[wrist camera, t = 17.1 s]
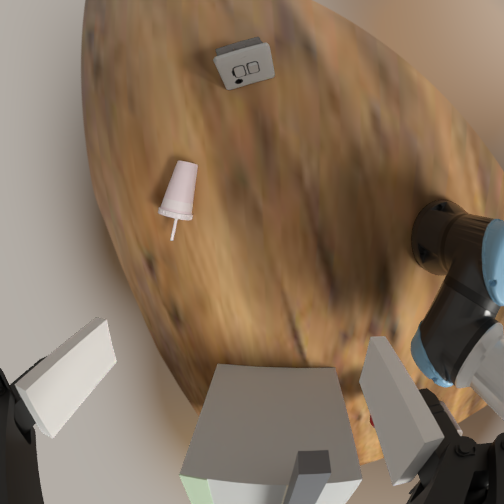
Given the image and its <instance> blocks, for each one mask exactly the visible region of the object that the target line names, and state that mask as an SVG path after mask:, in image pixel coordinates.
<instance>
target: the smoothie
mask: <svg viewBox="0 0 504 504" xmlns="http://www.w3.org/2000/svg"><path fill="white" fill-rule="evenodd" d="M197 169H198V165H197V164H193V163H190V162H185V161H178V162H177V164H176V167H175V169H174V172H173V174H172V177H171V180H170V182H169V185H168V188H167V190H166V193H165V196H164V198H163V201H162V204H161V207H159V210H158V213H159V214H161V215H164V216H167V217H171V218H175V220H174V224H173V229H172V234H171V239H170V240H171V241H173V239H174V234H175V230H176V225H177V221H178V219H180V220H192V217H193V214H192V208H193V199H194V191H195V184H196V176H197Z"/></svg>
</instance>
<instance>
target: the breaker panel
mask: <svg viewBox="0 0 504 504" xmlns="http://www.w3.org/2000/svg"><path fill="white" fill-rule="evenodd" d="M317 450H328V451H329V458H330V466H331V475H330V477H329V479H328V481H327V483H326V485H325V487H324V489H323V490H322V492H321V494H320V496H319V498H318V500H317V502H316V503H315V504H345V503H346V502H347V501H348V499H349V498H350V497H351V495H352V494H353V493H354V491H355V490H356V488H357V487H358V485H359V484H360V482H361V481H362V474H361V469H360V465H359V460H358V456H357V451H356V447H355V443H354V438H353V434H352V430H351V426H350V422H349V418H348V414H347V410H346V406H345V402H344V399H343V395H342V391H341V387H340V384H339V380H338V376H337V373H336V369H335V368H279V367H256V366H241V365H228V364H217V367H216V370H215V373H214V375H213V378H212V381H211V384H210V387H209V390H208V393H207V396H206V399H205V402H204V405H203V408H202V410H201V413H200V416H199V419H198V422H197V425H196V428H195V431H194V434H193V437H192V440H191V442H190V445H189V448H188V451H187V454H186V457H185V460H184V463H183V466H182V469H181V471H180V474H179V476H180V478H181V481H182V483H183V486H184V488H185V490H186V493H187V495H188V497H189V500H190V502H191V504H283V502H284V499H285V496H286V493H287V489H288V486H289V482H290V479H291V475H292V472H293V468H294V464H295V460H296V456H297V453H298V451H317Z"/></svg>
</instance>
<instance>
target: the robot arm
mask: <svg viewBox="0 0 504 504" xmlns="http://www.w3.org/2000/svg"><path fill="white" fill-rule="evenodd" d="M412 249H413V253H414V256H415V258H416V260H417V262H418V263H419V264H420V266H421V267H423V268H424V269H425V270H427V271H428V272H430V273H432V274H435V275H446V277H445V279H444V281H443V283H442V285H441V287H440V289H439V291H438V293H437V295H436V297H435V299H434V301H433V303H432V305H431V307H430V309H429V310H428V312H427V314H426V316H425V318H424V319H423V320H422V321H421V322H420V324H419V327H418V330H417V332H416V334H415V335H414V337H413V339H412V341H411V354H412V357H413V359H414V361H415V363H416V365H417V366H418V367H419V369H420V370H421V371H422V372H423V374H424V375H425V376H426V377H428V378H429V379H432V380H433V381H434V383H436V384H437V385H439V386H442V387H450V386H452V385H455V386H456V387H457V388H464V387H471V388H472V389H473V390H474V391H475V392H476V393H477V394H478V395H479V396H480V397H481V398H482V399H483V400H484V401H485V402H486V403H487V404H488V405H489V406H490V407H491V408H492V409H493V410H494V411H495V412H496V413H497V414H498V415H499V416H500V417H501V418H502V420H503V421H504V334H503V326H502V324H501V323H500V322H498V321H497V320H495V317H496V315H497V313H498V311H499V309H500V307H501V306H504V221H503V220H500V219H491V218H487V217H482V216H477V215H472V214H468V213H467V212H466V211H465V210H464V209H463V208H461V207H460V206H459V205H457V204H456V203H453V202H451V201H444V200H438V201H434V202H431V203H430V204H428V205H427V206H426V207H424V208H423V210H422V211H421V212H420V213H419V215H418V217H417V219H416V221H415V223H414V227H413V231H412ZM116 362H117V361H116V357H115V353H114V349H113V345H112V341H111V336H110V332H109V328H108V323H107V319H103V318H97V317H96V318H94V319H93V320H92V321H90V322H89V323H88V324H87V325H85V326H84V327H83V328H82V329H80V330H79V331H78V332H76V333H75V334H74V335H73V336H72V337H70V338H69V339H68V340H67V341H65V342H64V343H63V344H62V345H60V346H59V347H58V348H57V349H56V350H54V351H53V352H52V353H51V354H50V355H48V356H46V357H44V358H42V359H40V360H39V361H38V362H37V363H35V364H34V366H32V367H30V368H29V370H27V371H26V372H25V373H23V374H22V375H21V376H20V377H19V378H18V379H16V380H15V381H14V382H13V383H12V384H11V385H9V383H8V381H7V379H6V377H5V375H4V373H3V371H2V370H1V368H0V504H44V501H43V497H42V491H41V485H40V478H39V471H38V462H37V451H36V435H35V429H34V428H33V425H34V424H35V423H36V424H37V426H38V427H39V429H40V430H41V432H42V433H44V434H46V435H47V436H49V437H51V438H54V437H55V435H56V434H57V433H58V432H59V430H60V429H61V428H62V427H63V425H64V424H65V423H66V422H67V421H68V419H69V418H70V417H71V416H72V415H73V413H74V412H75V411H76V410H77V408H78V407H79V406H80V405H81V404H82V402H83V401H84V400H85V399H86V398H87V396H88V395H89V394H90V393H91V392H92V391H93V389H94V388H95V387H96V386H97V385H98V383H99V382H100V381H101V380H102V379H103V377H104V376H105V375H106V374H107V373H108V372H109V371H110V369H111V368H112V367H113V366H114V365H115V364H116ZM359 383H360V386H361V389H362V391H363V394H364V397H365V400H366V403H367V406H368V409H369V411H370V414H371V417H372V420H373V423H374V426H375V429H376V432H377V435H378V439H379V442H380V445H381V448H382V451H383V454H384V458H385V461H386V464H387V468H388V471H389V474H390V478H391V482H392V485H393V486H395V485H399V484H403V483H407V482H410V481H412V479H413V478H414V477H415V476H416V475H417V474H418V475H419V478H420V481H419V482H418V483H417V484H416V486H415V487H414V488H413V489H412V490H411V491H410V492H409V494H411V493H412V492H413V493H412V494H411V496H410V498H409V500H408V502H407V503H406V504H504V433H501V434H500V435H498V436H497V438H496V439H495V440H494V442H493V443H486V444H476V442H475V441H474V440H473V439H471V438H469V437H465V436H460V435H459V433H458V431H457V430H456V428H455V426H454V425H453V423H452V421H451V420H450V418H449V416H448V415H447V413H446V412H445V410H444V408H443V406H442V405H440V404H441V403H440V401H439V400H438V398H437V397H436V395H435V394H433V393H432V392H431V391H430V390H428V389H427V388H426V389H420V390H418V389H417V387H416V385H415V384H414V382H413V380H412V379H411V377H410V375H409V374H408V372H407V370H406V369H405V367H404V365H403V364H402V362H401V361H400V359H399V357H398V356H397V354H396V353H395V351H394V350H393V348H392V346H391V345H390V343H389V342H388V340H387V339H386V337H385V336H379V337H370V341H369V346H368V350H367V354H366V358H365V362H364V366H363V369H362V373H361V377H360V380H359Z"/></svg>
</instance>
